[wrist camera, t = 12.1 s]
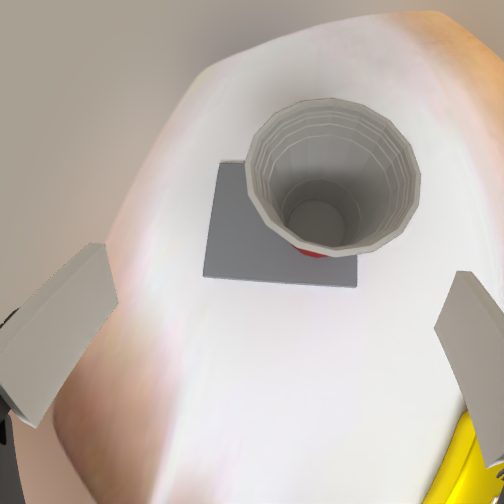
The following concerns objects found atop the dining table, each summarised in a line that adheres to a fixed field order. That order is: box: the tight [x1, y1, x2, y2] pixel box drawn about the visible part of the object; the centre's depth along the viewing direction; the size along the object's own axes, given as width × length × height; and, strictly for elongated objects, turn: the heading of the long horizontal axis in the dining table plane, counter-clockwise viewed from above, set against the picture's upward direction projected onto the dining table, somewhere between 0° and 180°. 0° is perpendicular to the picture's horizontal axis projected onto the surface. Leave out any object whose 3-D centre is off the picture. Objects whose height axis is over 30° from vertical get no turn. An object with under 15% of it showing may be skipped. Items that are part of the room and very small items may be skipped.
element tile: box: [422, 410, 504, 504], centre depth 17 cm, size 15×15×5 cm
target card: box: [203, 163, 357, 288], centre depth 29 cm, size 14×12×1 cm
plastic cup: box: [245, 98, 421, 258], centre depth 22 cm, size 11×11×12 cm
